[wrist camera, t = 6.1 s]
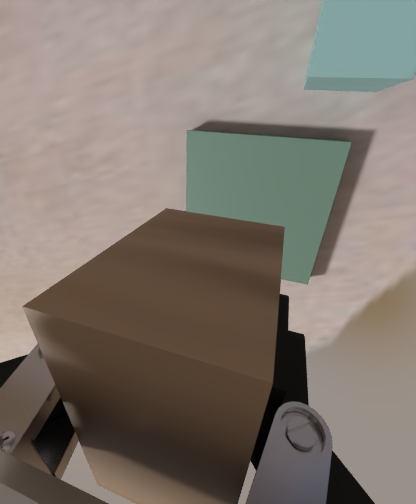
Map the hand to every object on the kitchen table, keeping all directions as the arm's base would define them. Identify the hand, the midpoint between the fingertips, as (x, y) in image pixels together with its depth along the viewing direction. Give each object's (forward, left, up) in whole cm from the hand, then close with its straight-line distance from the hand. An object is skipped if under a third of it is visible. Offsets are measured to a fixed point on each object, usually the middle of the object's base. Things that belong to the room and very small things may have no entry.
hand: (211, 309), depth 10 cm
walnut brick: (0, 0, -1) cm, 1 cm away
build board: (0, 0, -14) cm, 14 cm away
